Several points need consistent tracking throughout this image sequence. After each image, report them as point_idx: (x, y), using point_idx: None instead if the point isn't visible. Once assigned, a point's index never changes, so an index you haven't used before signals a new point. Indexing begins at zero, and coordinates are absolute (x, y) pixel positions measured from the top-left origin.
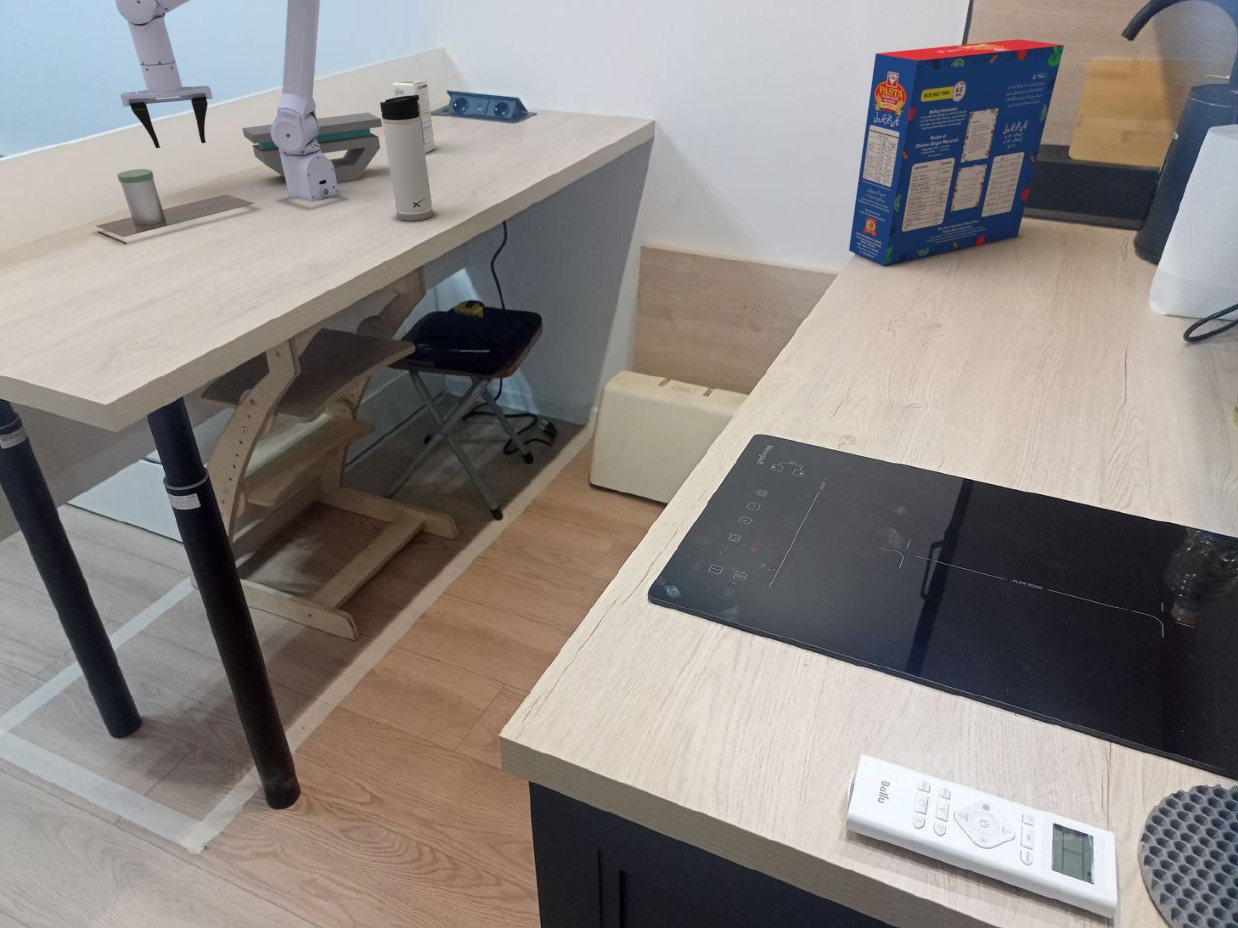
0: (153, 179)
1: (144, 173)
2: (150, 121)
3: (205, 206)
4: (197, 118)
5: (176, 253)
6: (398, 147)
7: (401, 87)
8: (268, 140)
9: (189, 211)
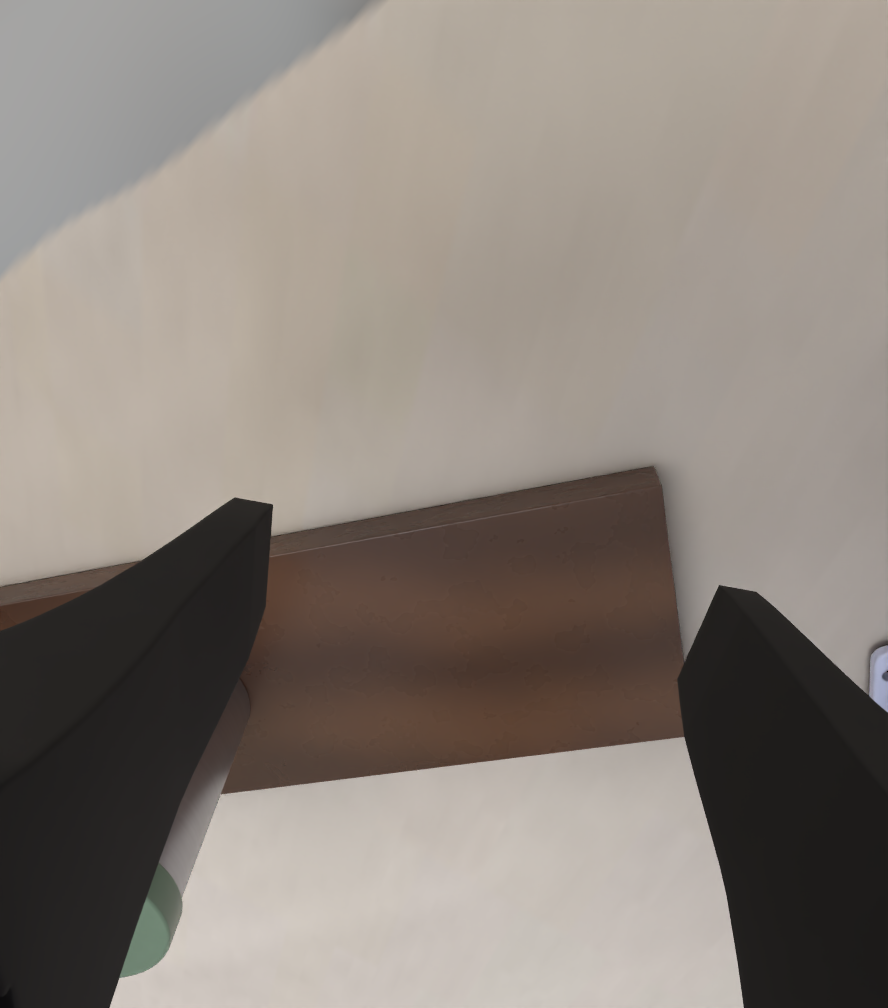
0: (182, 892)
1: (125, 960)
2: (136, 910)
3: (469, 643)
4: (753, 980)
5: (252, 940)
6: None
7: None
8: None
9: (375, 672)
